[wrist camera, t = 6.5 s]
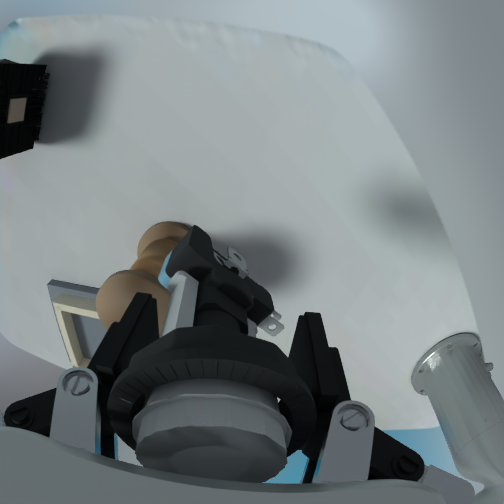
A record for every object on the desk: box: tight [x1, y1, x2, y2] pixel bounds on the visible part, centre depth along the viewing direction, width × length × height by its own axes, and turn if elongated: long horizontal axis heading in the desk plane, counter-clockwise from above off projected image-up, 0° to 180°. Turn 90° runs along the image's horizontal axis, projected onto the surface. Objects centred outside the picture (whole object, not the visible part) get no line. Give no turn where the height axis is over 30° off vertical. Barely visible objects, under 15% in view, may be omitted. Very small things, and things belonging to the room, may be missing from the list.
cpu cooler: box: [0, 59, 49, 159], centre depth 20 cm, size 10×6×10 cm, turn 164°
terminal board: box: [47, 280, 107, 368], centre depth 36 cm, size 20×14×3 cm
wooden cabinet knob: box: [96, 222, 190, 336], centre depth 27 cm, size 7×7×11 cm
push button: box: [107, 225, 317, 483], centre depth 11 cm, size 7×5×10 cm
